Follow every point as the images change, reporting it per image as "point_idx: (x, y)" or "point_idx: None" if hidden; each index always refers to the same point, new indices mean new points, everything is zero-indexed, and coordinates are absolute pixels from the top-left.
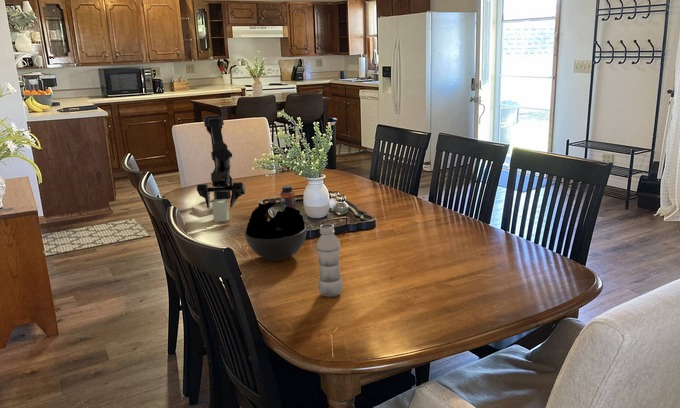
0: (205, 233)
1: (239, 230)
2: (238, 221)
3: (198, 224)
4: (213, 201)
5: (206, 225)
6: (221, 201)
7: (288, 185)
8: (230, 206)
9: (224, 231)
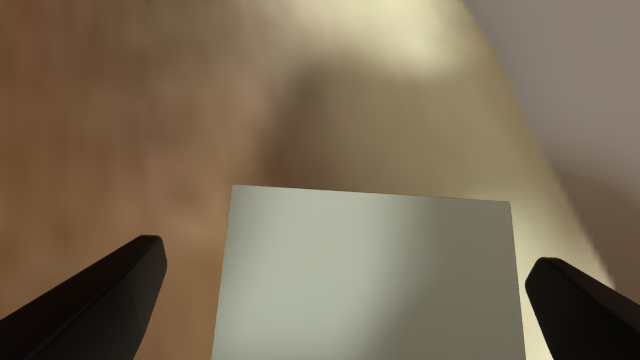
0: (399, 30)
1: (150, 38)
2: (166, 288)
3: None
4: (512, 319)
5: None
6: (312, 273)
7: None
8: (156, 238)
9: (265, 41)
